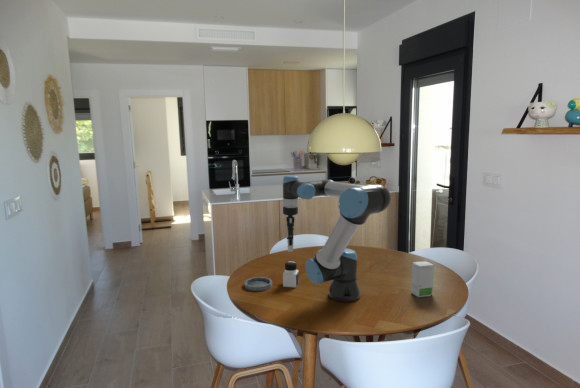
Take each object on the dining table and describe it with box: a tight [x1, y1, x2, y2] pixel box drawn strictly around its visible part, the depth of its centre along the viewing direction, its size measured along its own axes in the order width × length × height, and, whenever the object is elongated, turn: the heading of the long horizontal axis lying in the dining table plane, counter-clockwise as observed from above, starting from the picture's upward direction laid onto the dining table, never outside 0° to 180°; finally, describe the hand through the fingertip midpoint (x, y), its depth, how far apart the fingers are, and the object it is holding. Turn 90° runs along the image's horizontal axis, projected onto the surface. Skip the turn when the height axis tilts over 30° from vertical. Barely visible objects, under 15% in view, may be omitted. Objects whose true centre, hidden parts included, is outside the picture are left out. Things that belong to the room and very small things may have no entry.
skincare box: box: [410, 261, 435, 298], centre depth 194 cm, size 8×7×16 cm
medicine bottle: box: [282, 261, 300, 288], centre depth 209 cm, size 7×7×12 cm
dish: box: [244, 276, 273, 292], centre depth 209 cm, size 14×14×2 cm
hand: (290, 246), depth 206 cm, fingers open, 13 cm apart
